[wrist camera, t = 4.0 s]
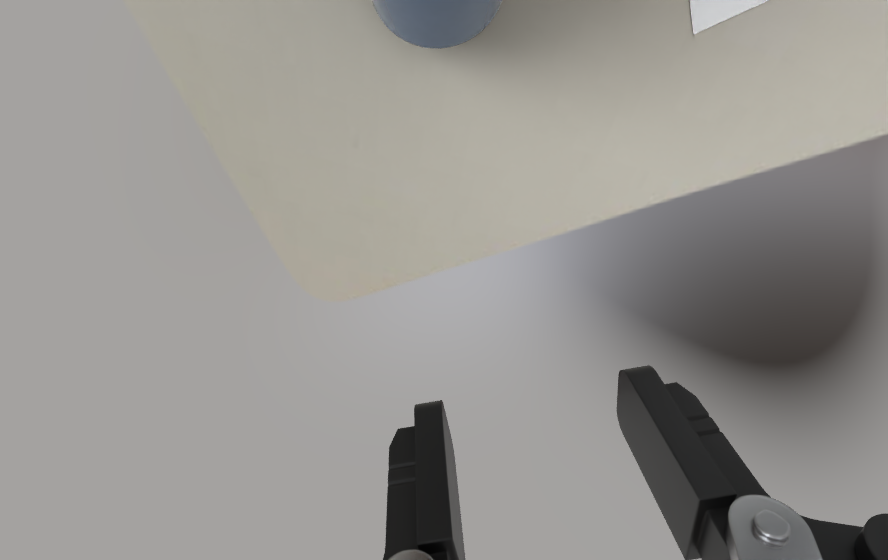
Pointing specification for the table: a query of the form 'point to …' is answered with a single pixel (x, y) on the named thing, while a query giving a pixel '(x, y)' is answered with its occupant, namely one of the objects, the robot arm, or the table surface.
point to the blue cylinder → (436, 20)
